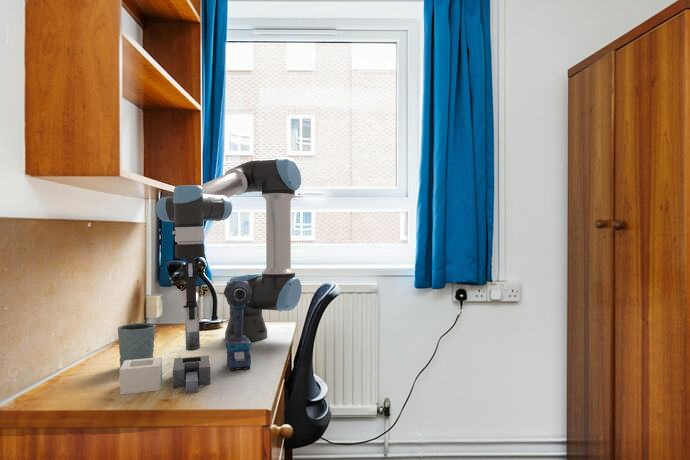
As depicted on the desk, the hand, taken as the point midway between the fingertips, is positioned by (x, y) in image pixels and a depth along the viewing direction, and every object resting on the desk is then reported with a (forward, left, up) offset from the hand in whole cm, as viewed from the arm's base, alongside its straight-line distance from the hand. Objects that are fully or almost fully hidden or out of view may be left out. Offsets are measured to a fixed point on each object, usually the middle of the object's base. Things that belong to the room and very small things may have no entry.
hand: (192, 329), depth 131 cm
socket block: (+3, 0, -12) cm, 13 cm away
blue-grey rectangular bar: (+10, 0, -12) cm, 16 cm away
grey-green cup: (-15, -15, -13) cm, 25 cm away
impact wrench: (-4, +13, -13) cm, 18 cm away
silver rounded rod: (0, 0, -5) cm, 5 cm away
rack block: (+5, -12, -12) cm, 18 cm away
